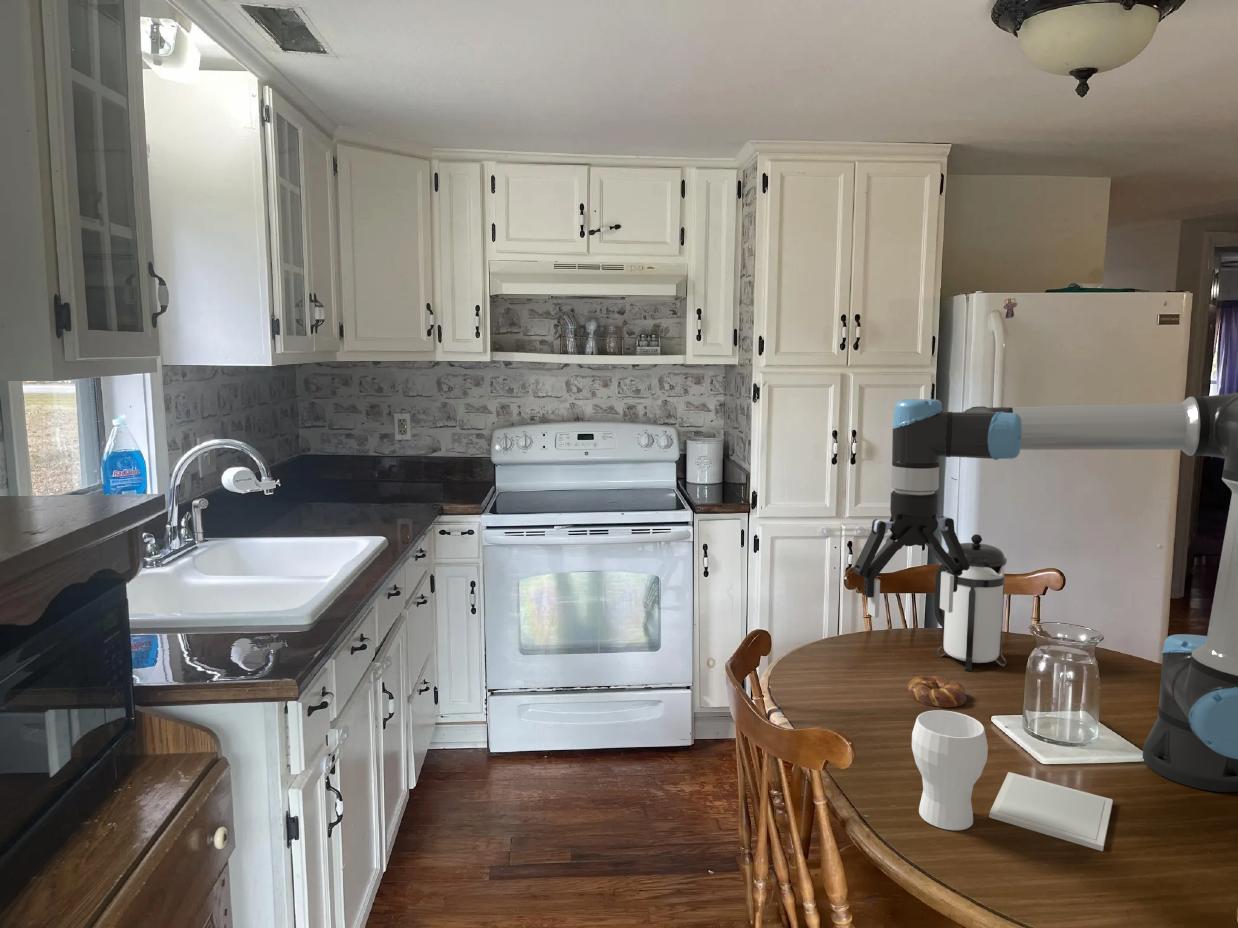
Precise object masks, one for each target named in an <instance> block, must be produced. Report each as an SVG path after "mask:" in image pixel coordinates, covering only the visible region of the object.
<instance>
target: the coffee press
mask: <svg viewBox="0 0 1238 928" xmlns="http://www.w3.org/2000/svg"><path fill="white" fill-rule="evenodd" d="M970 539H971V542H963V543H961V542H960V545H961V547H962V550H963V552H964V554H965V557H966V559H967V561H968V564H969V566H970V567H969V569H968V570H963V571H962V575H960V576H958V583H957V584H958V585H957V591H956V592H953V612H951V613H948V612H946V611H944V610H942V609H941V608H940V588H941V572H947V570H946V569H945V568H944V567H943V565H942V564H941V565H940V566H939V567H938V569H937V571H936V573H935V575H936V576H935V582H934V583H935V585H934V604H933V605H934V607H933V608H934V617H935V619H936V620H937V623H938V624H939V625H940V627H941V628H942V641H941V642H942V644H941V646H940V647H939V648H938V649H937V650H936V656H937V657H938V658H943V657H944V656H945V655H948V656H950V657H952V658H953V659H956V660H959V661H963V662H965V664H964V665H965V666H964V670H965V671H966V672H972V670H973V663H976V664H981V663H982V664H983V663H984V664H985V663H990V662H991V663H992V662H995V663H997V665H998V666H1000V667H1006V665H1007V660H1006V658H1005V657H1004V655H1003V653H1002V646H1001V644H1002V643H1003V642H1002V640H1003V626H1002V624H1003V623H1004V622H1003V619H1004V618H1003V617H1004V608H1003V606H1004V603H1005V602H1004V599H1005V589H1004V587H1005V582H1006V580H1005V579H1006V575H1005V566H1006V565H1007V562H1008V559H1007V558H1006V557H1005V554H1004V553H1003V551H1002V550H1001V549H1000V548H999V547H997V546H993V545H991V544H985V543H982V541H983V538H982V536H981V535H980V534H977V533H976V534H973V535H972V536H971V538H970ZM946 553H947V554H948V555H949V557H950V558H951V559H952V557H951V554H950V552H949V550H948V551H947V552H946ZM952 560H953V559H952ZM953 562H954V561H953ZM942 648H943V650H944V653H942V654H939V653H938V652H939V651H941V649H942ZM999 656H1000V657H1001V659H1002V660H1003V662H1004V663H1001V662H1000V661H999V660H997V659H998V658H999Z"/></svg>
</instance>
